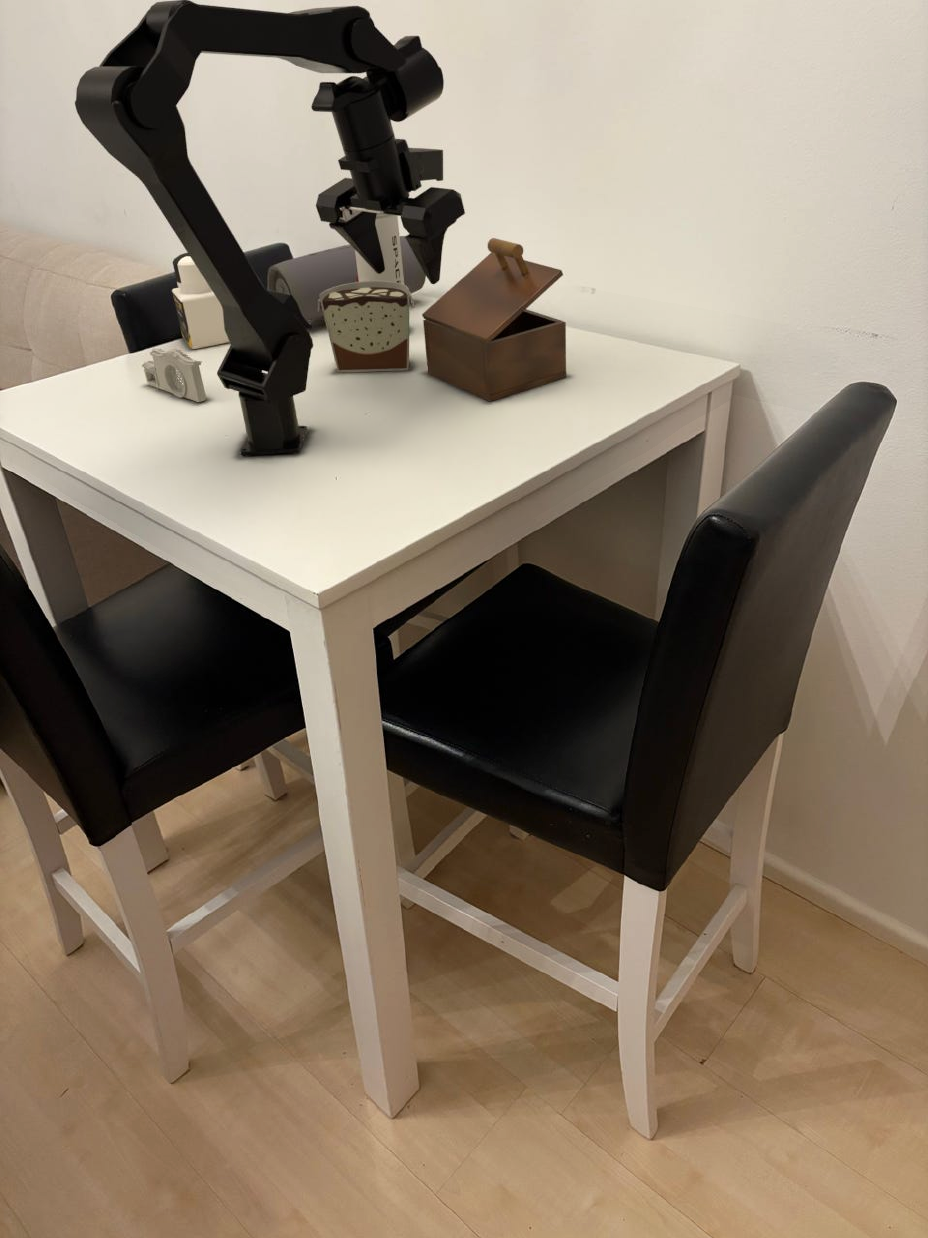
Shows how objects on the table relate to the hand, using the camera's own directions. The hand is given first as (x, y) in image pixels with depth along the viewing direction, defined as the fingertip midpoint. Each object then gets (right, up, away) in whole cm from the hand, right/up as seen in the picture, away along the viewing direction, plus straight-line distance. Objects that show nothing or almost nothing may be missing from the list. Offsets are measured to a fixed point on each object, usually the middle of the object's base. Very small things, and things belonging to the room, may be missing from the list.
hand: (407, 277), depth 114 cm
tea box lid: (+10, -2, +2) cm, 10 cm away
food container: (-5, -7, +14) cm, 16 cm away
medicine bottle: (-30, +1, +28) cm, 42 cm away
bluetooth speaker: (-10, +6, +34) cm, 36 cm away
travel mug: (-5, +1, +25) cm, 26 cm away
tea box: (+11, -10, +7) cm, 16 cm away
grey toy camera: (-30, -12, +10) cm, 34 cm away
